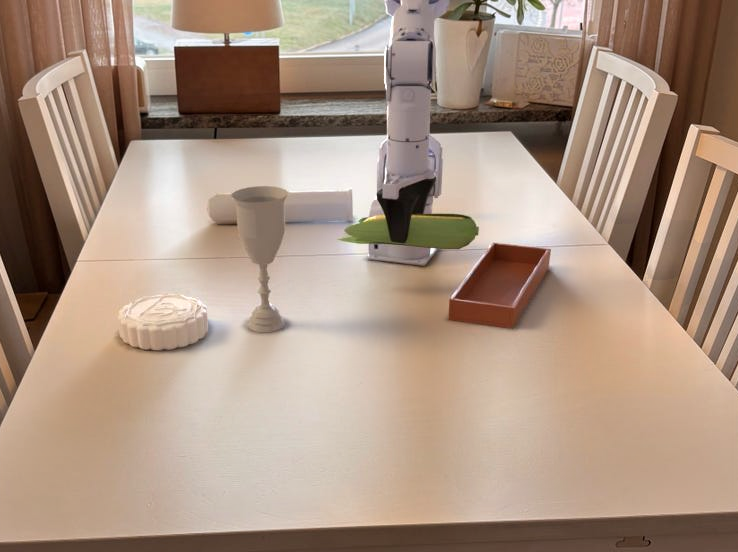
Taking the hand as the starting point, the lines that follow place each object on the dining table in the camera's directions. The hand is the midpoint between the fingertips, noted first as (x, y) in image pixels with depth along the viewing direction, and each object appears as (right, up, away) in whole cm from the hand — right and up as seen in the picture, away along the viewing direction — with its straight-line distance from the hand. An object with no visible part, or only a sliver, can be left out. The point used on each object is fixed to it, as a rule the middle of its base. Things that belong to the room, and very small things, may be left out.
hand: (405, 235), depth 147 cm
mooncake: (-33, -15, -6) cm, 37 cm away
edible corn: (0, -1, +1) cm, 2 cm away
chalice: (-20, -14, -5) cm, 24 cm away
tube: (-19, +10, +32) cm, 39 cm away
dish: (+14, -7, +3) cm, 16 cm away
